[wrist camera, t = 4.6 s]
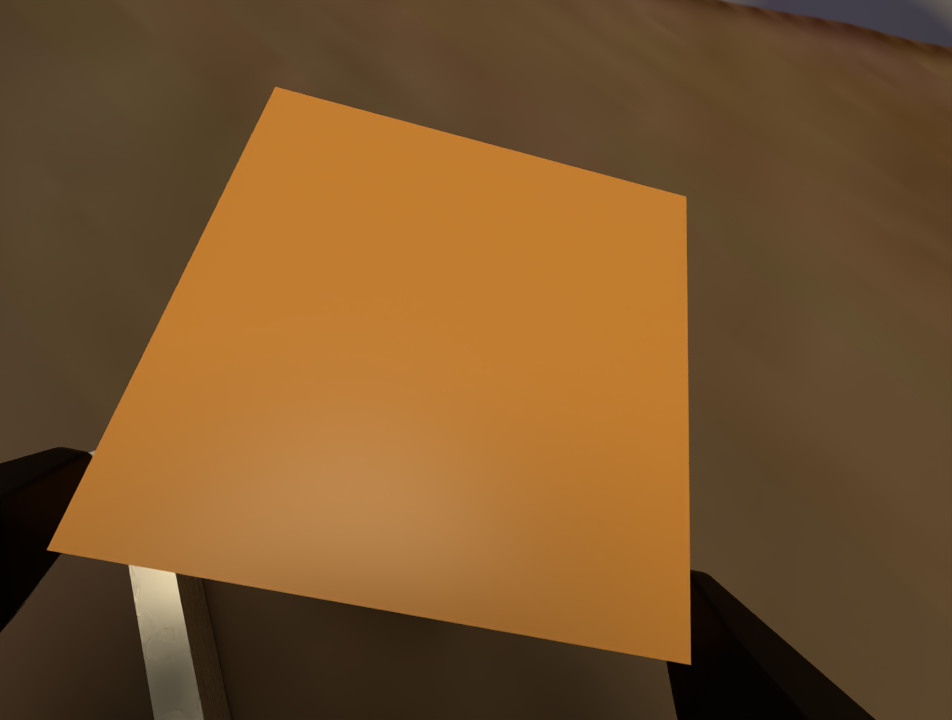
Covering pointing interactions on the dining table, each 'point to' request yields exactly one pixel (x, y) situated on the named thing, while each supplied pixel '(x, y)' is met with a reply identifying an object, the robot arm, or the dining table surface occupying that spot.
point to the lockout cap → (416, 390)
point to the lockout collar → (178, 646)
